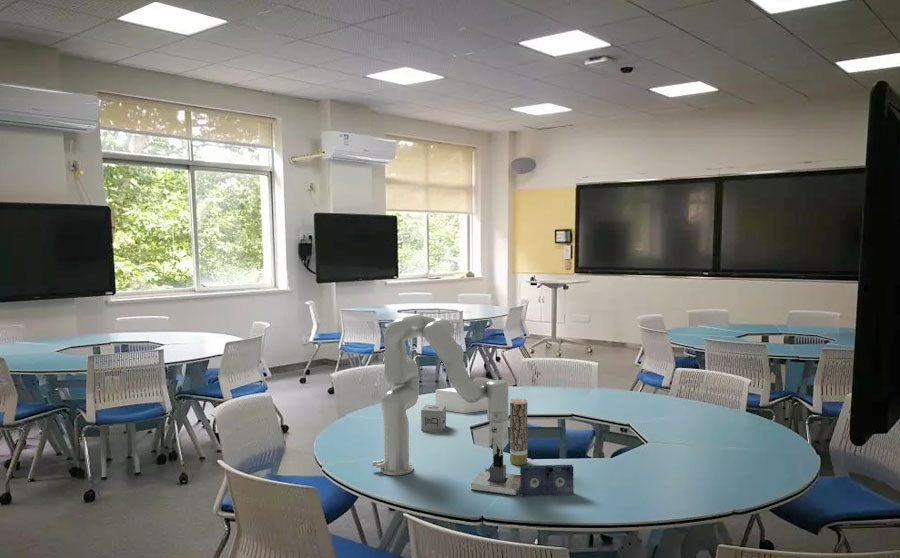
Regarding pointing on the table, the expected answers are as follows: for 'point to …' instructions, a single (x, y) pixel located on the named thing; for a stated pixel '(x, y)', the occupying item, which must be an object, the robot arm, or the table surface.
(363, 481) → the table surface
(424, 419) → the icon cube
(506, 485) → the socket plate
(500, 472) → the plug
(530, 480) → the vhs cassette tape
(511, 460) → the paper tube
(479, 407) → the block
